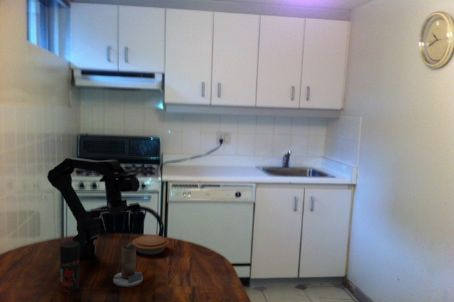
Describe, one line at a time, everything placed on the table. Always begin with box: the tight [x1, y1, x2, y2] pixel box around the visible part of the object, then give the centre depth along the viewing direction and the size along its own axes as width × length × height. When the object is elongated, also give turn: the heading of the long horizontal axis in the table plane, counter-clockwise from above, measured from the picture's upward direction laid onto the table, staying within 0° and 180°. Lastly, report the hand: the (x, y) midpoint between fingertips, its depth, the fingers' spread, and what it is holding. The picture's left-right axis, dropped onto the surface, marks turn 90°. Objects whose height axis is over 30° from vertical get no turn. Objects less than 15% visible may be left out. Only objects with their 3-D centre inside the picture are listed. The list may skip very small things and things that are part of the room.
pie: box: [131, 234, 170, 256], centre depth 165 cm, size 15×16×5 cm
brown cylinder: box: [120, 242, 137, 280], centre depth 135 cm, size 5×5×12 cm
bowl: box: [113, 271, 144, 288], centre depth 135 cm, size 10×10×4 cm
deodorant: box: [59, 240, 80, 293], centre depth 127 cm, size 6×6×15 cm
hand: (117, 232), depth 149 cm, fingers open, 9 cm apart
